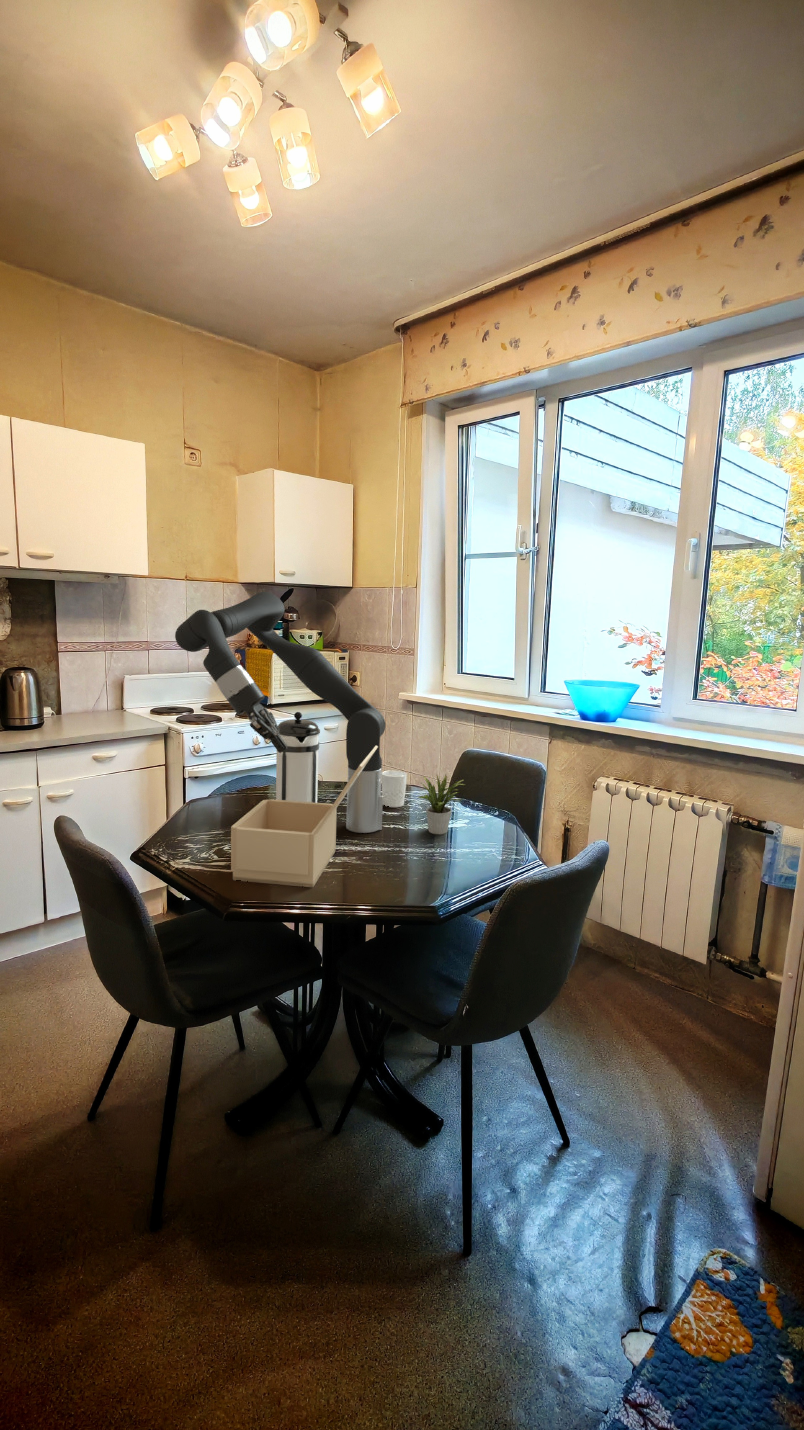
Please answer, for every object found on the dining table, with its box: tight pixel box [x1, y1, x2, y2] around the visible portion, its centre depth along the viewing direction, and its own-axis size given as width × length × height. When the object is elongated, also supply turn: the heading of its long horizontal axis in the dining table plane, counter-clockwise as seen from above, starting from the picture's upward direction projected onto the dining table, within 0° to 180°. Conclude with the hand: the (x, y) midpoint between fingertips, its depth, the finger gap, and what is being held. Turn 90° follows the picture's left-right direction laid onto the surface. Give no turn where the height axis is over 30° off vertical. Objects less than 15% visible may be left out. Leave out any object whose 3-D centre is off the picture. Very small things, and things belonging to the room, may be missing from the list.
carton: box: [230, 798, 338, 888], centre depth 151 cm, size 19×23×12 cm
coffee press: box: [275, 711, 321, 803], centre depth 191 cm, size 17×16×30 cm
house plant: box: [417, 773, 466, 835], centre depth 178 cm, size 14×14×16 cm
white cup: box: [381, 769, 408, 808], centre depth 203 cm, size 8×8×10 cm
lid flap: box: [314, 746, 378, 834], centre depth 148 cm, size 18×22×1 cm
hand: (283, 750), depth 152 cm, fingers closed
